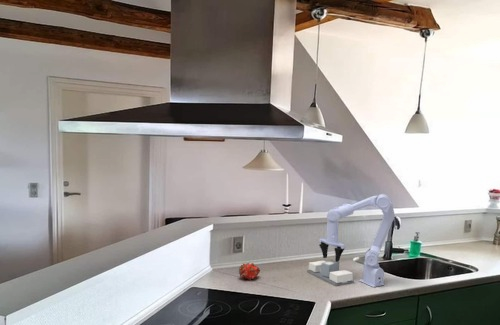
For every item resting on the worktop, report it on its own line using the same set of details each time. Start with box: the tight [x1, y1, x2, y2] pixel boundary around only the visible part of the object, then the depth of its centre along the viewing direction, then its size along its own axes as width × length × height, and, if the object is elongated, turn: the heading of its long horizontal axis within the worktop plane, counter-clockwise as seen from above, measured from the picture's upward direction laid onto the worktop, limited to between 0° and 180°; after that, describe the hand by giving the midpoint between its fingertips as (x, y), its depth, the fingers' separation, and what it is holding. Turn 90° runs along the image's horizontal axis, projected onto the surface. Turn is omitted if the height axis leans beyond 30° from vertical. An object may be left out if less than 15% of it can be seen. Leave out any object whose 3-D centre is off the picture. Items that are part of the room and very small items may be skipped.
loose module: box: [321, 259, 340, 277], centre depth 189 cm, size 4×9×6 cm, turn 133°
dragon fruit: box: [238, 262, 261, 281], centre depth 182 cm, size 8×8×12 cm
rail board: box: [306, 260, 355, 287], centre depth 188 cm, size 22×12×5 cm, turn 28°
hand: (331, 259), depth 189 cm, fingers open, 7 cm apart
